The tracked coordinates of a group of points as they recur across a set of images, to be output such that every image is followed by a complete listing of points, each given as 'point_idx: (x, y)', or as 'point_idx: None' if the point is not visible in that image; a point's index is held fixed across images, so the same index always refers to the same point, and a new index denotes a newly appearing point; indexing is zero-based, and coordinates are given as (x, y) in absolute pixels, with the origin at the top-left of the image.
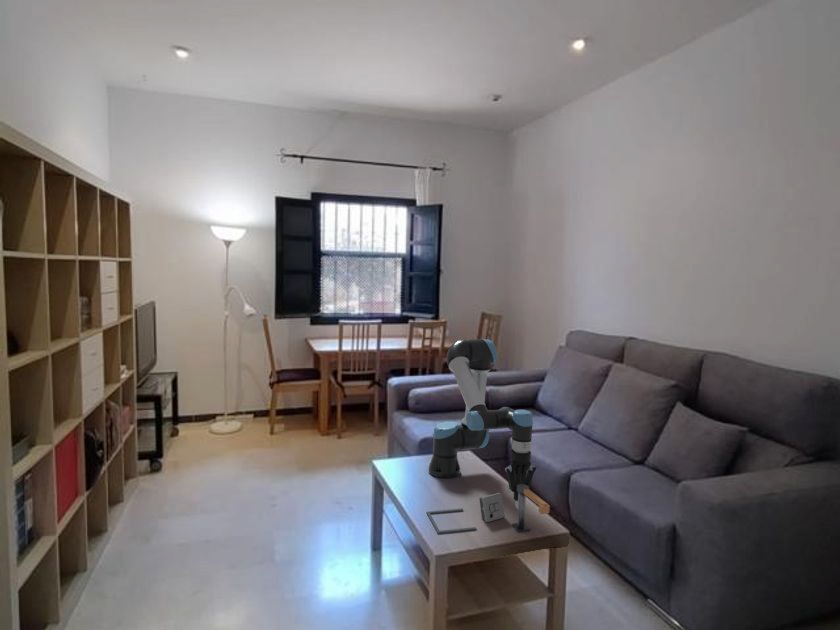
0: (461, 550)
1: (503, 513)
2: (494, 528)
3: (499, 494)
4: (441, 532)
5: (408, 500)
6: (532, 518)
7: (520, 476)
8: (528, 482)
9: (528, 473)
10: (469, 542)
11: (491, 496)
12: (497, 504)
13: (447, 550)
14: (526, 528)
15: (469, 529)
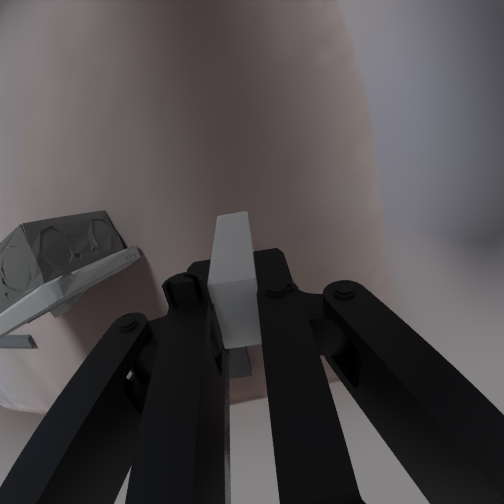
0: (33, 412)
1: (128, 265)
2: (94, 342)
3: (45, 309)
4: None
5: None
6: (313, 263)
7: (277, 477)
8: (375, 421)
9: (458, 484)
10: (37, 393)
11: (4, 334)
12: (65, 311)
13: (8, 403)
14: (235, 372)
15: (15, 346)
